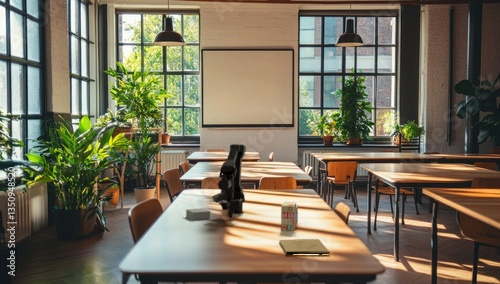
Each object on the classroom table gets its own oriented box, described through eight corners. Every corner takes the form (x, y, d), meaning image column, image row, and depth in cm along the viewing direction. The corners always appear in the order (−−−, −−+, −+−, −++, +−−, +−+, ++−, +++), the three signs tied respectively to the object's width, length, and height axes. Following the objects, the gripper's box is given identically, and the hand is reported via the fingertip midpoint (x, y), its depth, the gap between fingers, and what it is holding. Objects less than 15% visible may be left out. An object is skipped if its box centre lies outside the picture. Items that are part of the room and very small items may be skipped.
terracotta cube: (229, 218, 270) (230, 209, 270) (233, 219, 265) (234, 210, 265) (221, 218, 267) (221, 209, 267) (225, 220, 263) (225, 211, 263)
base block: (203, 215, 276) (203, 208, 276) (210, 218, 267) (210, 211, 267) (186, 216, 271) (186, 209, 271) (192, 220, 263) (192, 212, 262)
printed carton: (286, 222, 262) (286, 198, 261) (297, 222, 261) (298, 199, 260) (280, 230, 241) (281, 205, 240) (293, 231, 240) (294, 205, 239)
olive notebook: (279, 243, 215) (279, 238, 215) (319, 243, 216) (319, 238, 216) (285, 257, 194) (285, 251, 194) (329, 257, 195) (329, 251, 195)
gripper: (207, 186, 270) (207, 215, 271) (221, 190, 254) (221, 221, 254) (226, 185, 275) (225, 213, 276) (240, 189, 259) (240, 219, 259)
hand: (227, 216), depth 266 cm, fingers open, 6 cm apart
